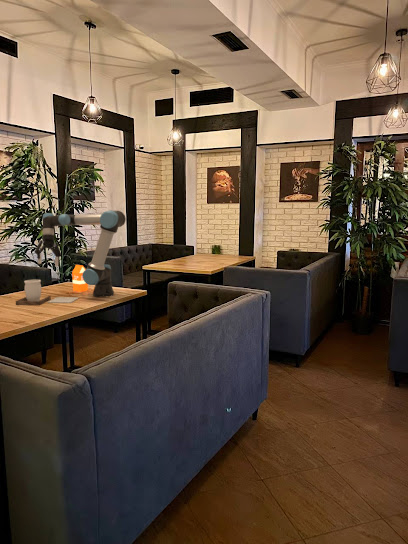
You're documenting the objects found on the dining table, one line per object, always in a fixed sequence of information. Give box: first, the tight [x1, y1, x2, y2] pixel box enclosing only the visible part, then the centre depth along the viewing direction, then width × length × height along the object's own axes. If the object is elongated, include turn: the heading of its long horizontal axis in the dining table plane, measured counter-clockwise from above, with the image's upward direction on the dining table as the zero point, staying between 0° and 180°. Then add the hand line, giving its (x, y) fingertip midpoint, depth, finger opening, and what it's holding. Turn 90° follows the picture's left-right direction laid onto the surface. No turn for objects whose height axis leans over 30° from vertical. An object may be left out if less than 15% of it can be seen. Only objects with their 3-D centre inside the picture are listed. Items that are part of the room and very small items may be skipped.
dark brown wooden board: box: [15, 295, 52, 306], centre depth 272 cm, size 16×17×2 cm
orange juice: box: [71, 264, 89, 293], centre depth 313 cm, size 8×9×20 cm
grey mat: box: [47, 296, 80, 304], centre depth 279 cm, size 16×16×1 cm
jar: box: [23, 278, 42, 301], centre depth 272 cm, size 11×10×15 cm
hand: (48, 264), depth 279 cm, fingers open, 13 cm apart
